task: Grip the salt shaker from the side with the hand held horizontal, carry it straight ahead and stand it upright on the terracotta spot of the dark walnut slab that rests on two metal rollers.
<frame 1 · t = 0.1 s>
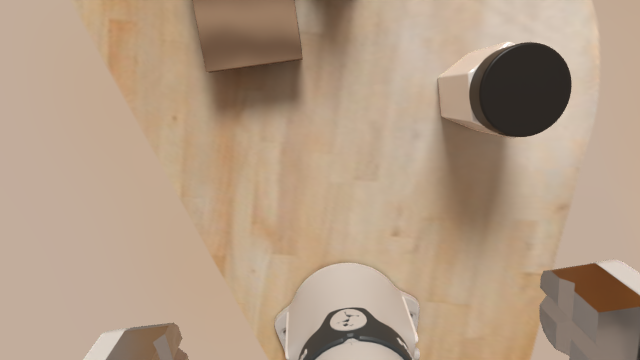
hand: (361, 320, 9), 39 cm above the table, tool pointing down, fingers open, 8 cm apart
jar: (471, 91, 46), on the table
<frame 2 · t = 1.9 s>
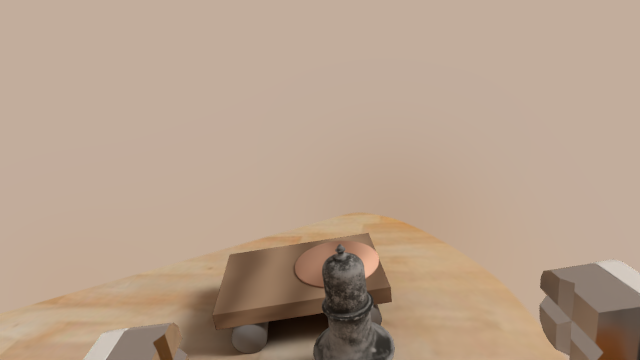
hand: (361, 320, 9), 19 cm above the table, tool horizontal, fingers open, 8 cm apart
roller slab: (307, 307, 39), on the table
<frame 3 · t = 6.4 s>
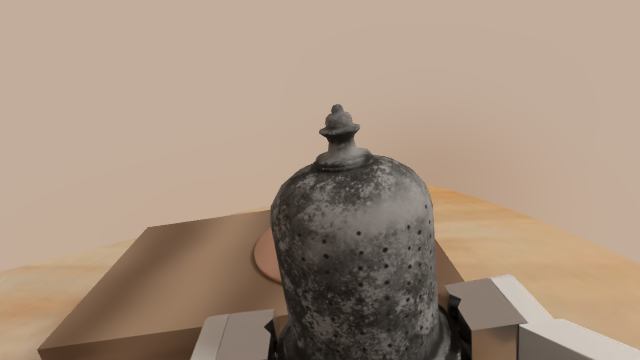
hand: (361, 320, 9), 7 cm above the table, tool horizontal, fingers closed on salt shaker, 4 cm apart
roller slab: (282, 330, 20), on the table
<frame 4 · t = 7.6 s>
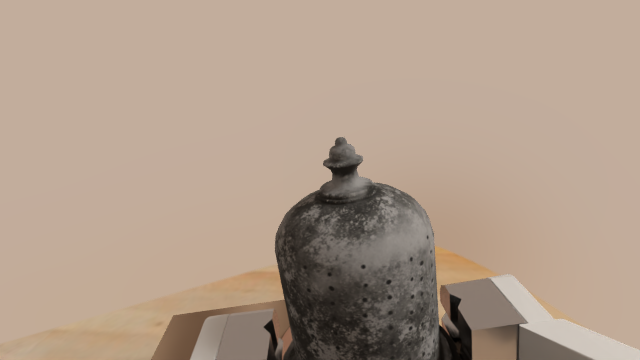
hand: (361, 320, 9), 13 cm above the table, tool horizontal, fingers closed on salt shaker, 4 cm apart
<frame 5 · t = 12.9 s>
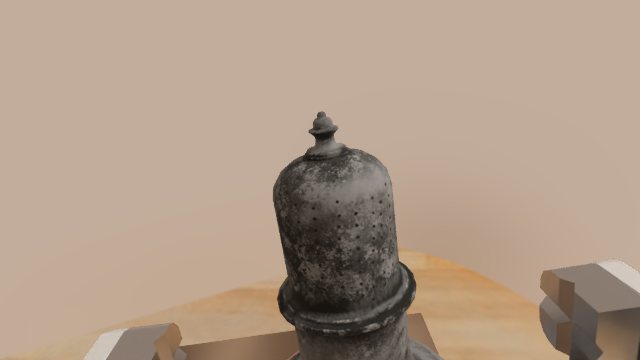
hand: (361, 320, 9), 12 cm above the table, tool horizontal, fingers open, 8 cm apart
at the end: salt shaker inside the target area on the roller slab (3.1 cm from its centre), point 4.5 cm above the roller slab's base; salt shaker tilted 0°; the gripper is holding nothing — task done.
